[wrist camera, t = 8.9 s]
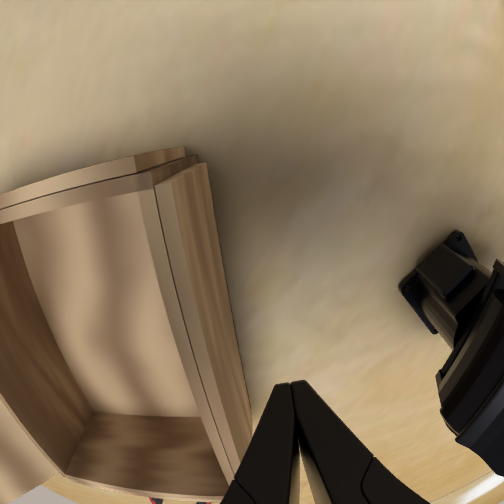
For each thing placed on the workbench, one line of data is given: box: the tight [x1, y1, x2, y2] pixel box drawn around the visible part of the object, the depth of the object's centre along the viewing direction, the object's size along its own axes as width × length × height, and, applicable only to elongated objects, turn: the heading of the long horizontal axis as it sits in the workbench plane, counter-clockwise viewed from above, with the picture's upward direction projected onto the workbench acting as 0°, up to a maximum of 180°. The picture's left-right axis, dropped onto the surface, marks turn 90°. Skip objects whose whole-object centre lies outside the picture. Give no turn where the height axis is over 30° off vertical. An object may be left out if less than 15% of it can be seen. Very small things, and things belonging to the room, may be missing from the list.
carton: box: [0, 146, 252, 502], centre depth 18 cm, size 17×23×9 cm
